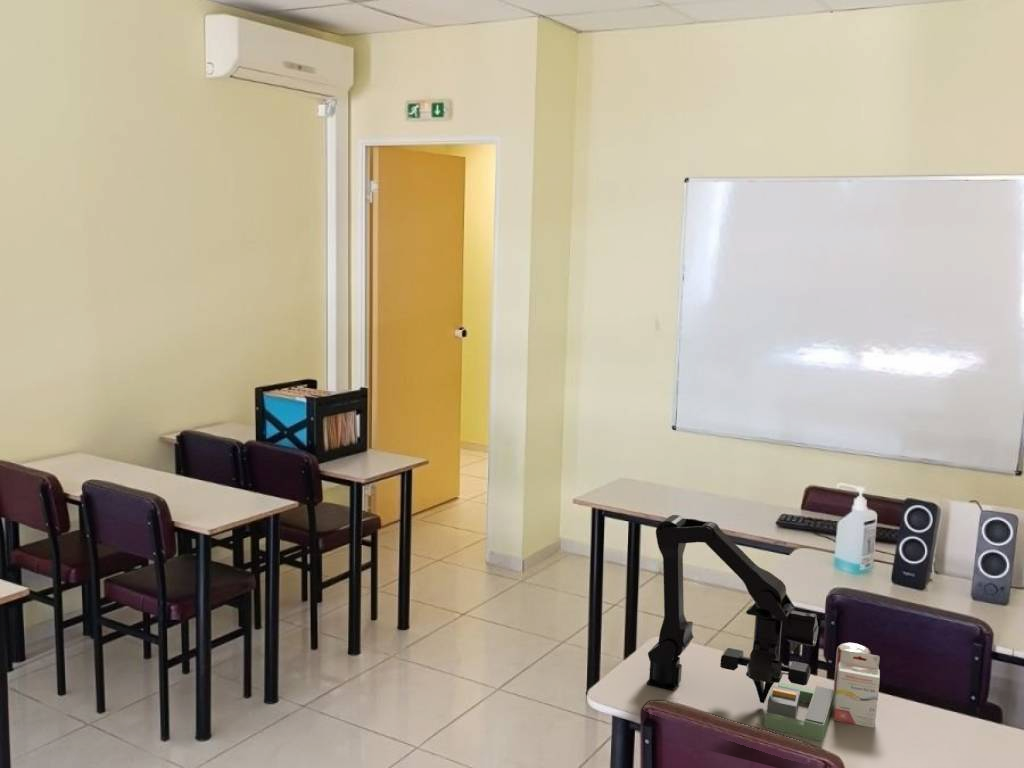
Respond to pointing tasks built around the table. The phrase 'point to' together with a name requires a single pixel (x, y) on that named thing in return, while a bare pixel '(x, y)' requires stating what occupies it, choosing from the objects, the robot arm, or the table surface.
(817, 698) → the green grey u-shaped block
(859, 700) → the ink cartridge box
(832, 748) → the table surface
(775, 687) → the grey block orange top
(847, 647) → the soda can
